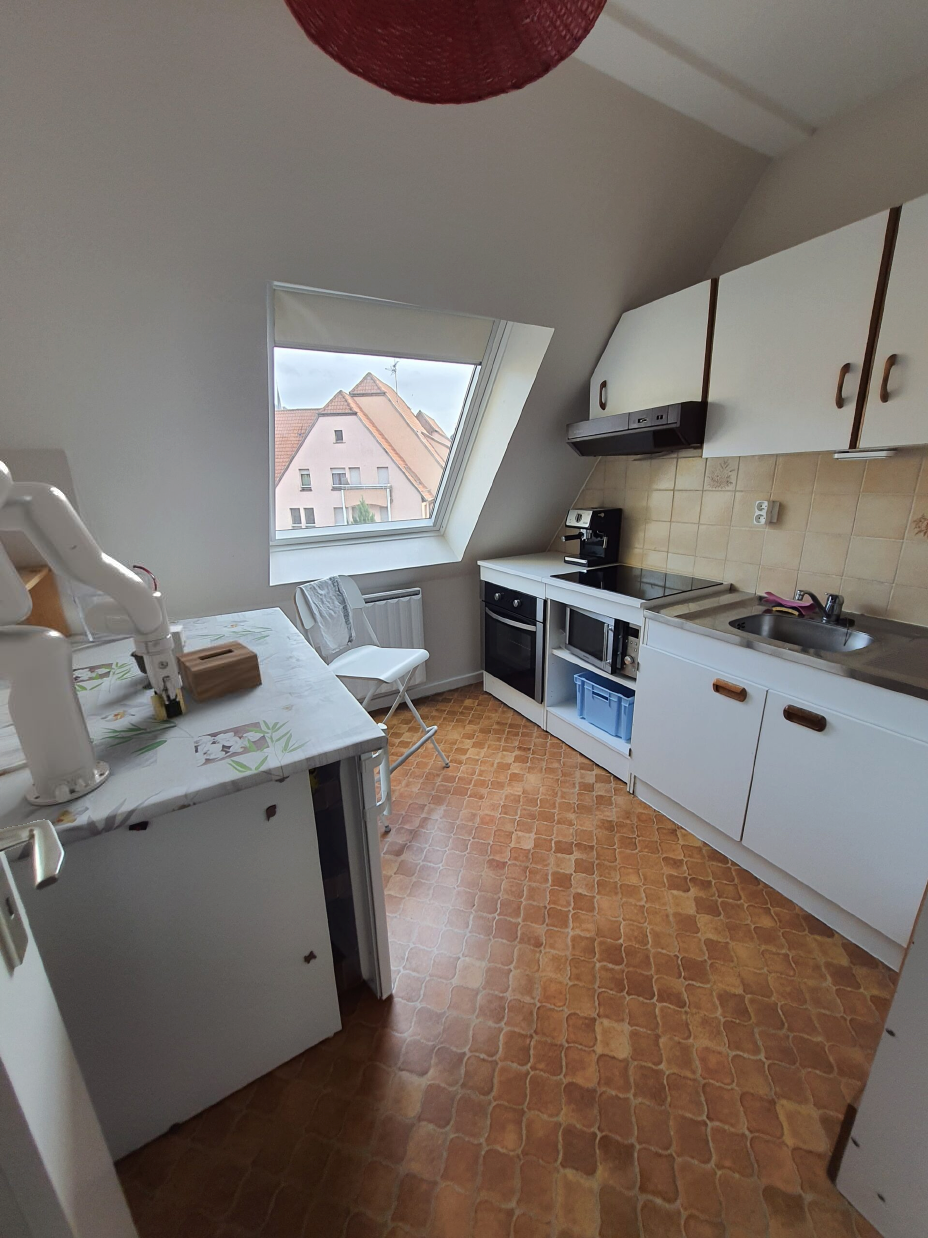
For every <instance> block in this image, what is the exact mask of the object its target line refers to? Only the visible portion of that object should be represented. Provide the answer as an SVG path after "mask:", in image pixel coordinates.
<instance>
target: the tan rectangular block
mask: <svg viewBox="0 0 928 1238" xmlns="http://www.w3.org/2000/svg"><path fill="white" fill-rule="evenodd" d="M175 689H176V688H175ZM176 692H177V695H178V697H179V700H180V704H181V708H182V713H183V714H182V715H184V714H187V712H186V707H185V703H184V698H183V694H182V691H181V689H176ZM167 695H169V694H166V697H167ZM150 700H151V703H152V708H153V713H154V716H155V719H156V721H157V722H161V721H165V720H169V719H168V718H167V716H166V712H165V707H164V703H165V701H164V699H163V696H162V695H161V694H157V695H155V694H154V695H153V694H152V695H151V696H150Z"/></svg>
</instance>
